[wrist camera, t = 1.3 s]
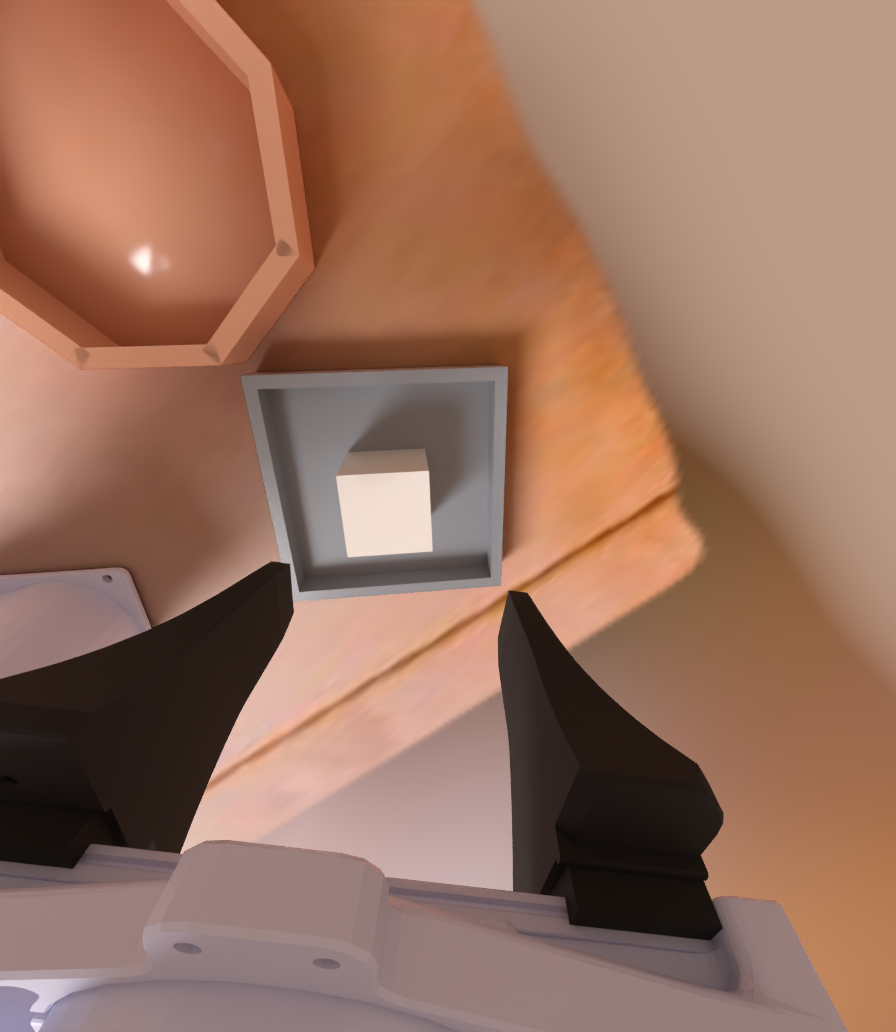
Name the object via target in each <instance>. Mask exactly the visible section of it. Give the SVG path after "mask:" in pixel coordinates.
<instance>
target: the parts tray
mask: <svg viewBox="0 0 896 1032" xmlns="http://www.w3.org/2000/svg"><path fill="white" fill-rule="evenodd" d="M240 378H241V382H242V387H243V391H244V396H245V400H246V405H247V409H248V414H249V418H250V423H251V428H252V432H253V437H254V441H255V446H256V450H257V455H258V459H259V464H260V468H261V473H262V477H263V482H264V486H265V491H266V496H267V500H268V505H269V509H270V514H271V518H272V523H273V527H274V532H275V536H276V541H277V545H278V550H279V554H280V559H281V563H288V564H290V569H291V582H292V596H293V602H297V601H310V600H323V599H336V598H349V597H361V596H374V595H387V594H400V593H413V592H426V591H439V590H452V589H465V588H478V587H490V586H501V573H502V542H503V511H504V481H505V450H506V419H507V388H508V367H507V366H503V365H499V364H495V365H465V366H435V367H405V368H375V369H345V370H315V371H285V372H255V373H251V374H246V375H242V376H240ZM422 448H425V452H426V458H427V463H428V468H429V483H430V504H431V526H432V548H433V551H431V552H417V553H403V554H388V555H374V556H360V557H347V550H346V543H345V536H344V529H343V522H342V515H341V508H340V501H339V494H338V487H337V480H336V475H337V473H338V471H339V469H340V467H341V465H342V463H343V461H344V459H345V457H346V455H347V453H348V452H362V451H382V450H402V449H422Z"/></svg>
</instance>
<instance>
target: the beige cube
mask: <svg viewBox="0 0 896 1032" xmlns="http://www.w3.org/2000/svg"><path fill="white" fill-rule="evenodd" d="M336 480H337V487H338V494H339V501H340V508H341V515H342V522H343V529H344V536H345V543H346V550H347V557H360V556H374V555H388V554H403V553H417V552H431V551H433V548H432V526H431V504H430V483H429V468H428V463H427V458H426V452H425V448H422V449H402V450H382V451H362V452H348V453H347V455H346V457H345V459H344V461H343V463H342V465H341V467H340V469H339V471H338V473H337V475H336Z"/></svg>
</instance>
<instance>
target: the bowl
mask: <svg viewBox="0 0 896 1032" xmlns="http://www.w3.org/2000/svg"><path fill="white" fill-rule="evenodd" d="M314 269H315V264H314V257H313V249H312V242H311V235H310V227H309V220H308V213H307V205H306V198H305V191H304V183H303V176H302V168H301V161H300V154H299V146H298V139H297V132H296V124H295V117H294V110H293V108H292V106H291V104H290V101H289V99H288V97H287V95H286V93H285V91H284V89H283V87H282V85H281V83H280V81H279V79H278V77H277V75H276V73H275V70H274V68H273V66H272V64H271V62H270V61H269V60H268V59H267V58H266V57H265V56H264V55H263V53H262V52H261V51H260V50H259V49H258V48H257V47H256V46H255V44H254V43H253V42H252V41H251V40H250V39H249V38H248V36H247V35H246V34H245V33H244V32H243V31H242V30H241V29H240V27H239V26H238V25H237V24H236V23H235V22H234V21H233V19H232V18H231V17H230V16H229V15H228V14H227V13H226V12H225V10H224V9H223V8H222V7H221V6H220V5H219V4H218V3H217V1H216V0H0V313H1V314H3V315H4V316H6V317H7V318H8V319H10V320H11V321H13V322H14V323H15V324H17V325H18V326H20V327H21V328H23V329H24V330H25V331H27V332H28V333H30V334H31V335H32V336H34V337H35V338H37V339H38V340H40V341H41V342H42V343H44V344H45V345H47V346H48V347H50V348H51V349H52V350H54V351H55V352H57V353H58V354H59V355H61V356H62V357H64V358H65V359H67V360H68V361H69V362H71V363H72V364H74V365H75V366H76V367H78V368H79V369H81V370H86V369H118V368H149V367H181V366H213V365H227V364H234V363H241V362H247V360H248V359H249V358H250V356H251V355H252V354H253V352H254V351H255V349H256V348H257V347H258V345H259V344H260V343H261V341H262V340H263V339H264V337H265V336H266V334H267V333H268V332H269V330H270V329H271V328H272V326H273V325H274V324H275V322H276V321H277V319H278V318H279V317H280V315H281V314H282V313H283V311H284V310H285V309H286V307H287V306H288V304H289V303H290V302H291V300H292V299H293V298H294V296H295V295H296V294H297V292H298V291H299V289H300V288H301V287H302V285H303V284H304V283H305V281H306V280H307V279H308V277H309V276H310V275H311V273H312V272H313V270H314Z"/></svg>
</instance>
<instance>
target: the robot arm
mask: <svg viewBox="0 0 896 1032" xmlns="http://www.w3.org/2000/svg"><path fill="white" fill-rule="evenodd" d="M107 575H109V576H111V578H112V579H110V578H108V576H107ZM293 613H294V609H293V596H292V582H291V569H290V564H288V563H280V562H272V561H271V562H270V563H268V564H266V565H264V566H263V567H261V568H260V569H258V570H256V571H255V572H253V573H251V574H250V575H248V576H247V577H245V578H244V579H242V580H240V581H239V582H237V583H235V584H234V585H232V586H231V587H229V588H227V589H226V590H224V591H222V592H221V593H219V594H217V595H216V596H214V597H212V598H210V599H208V600H207V601H205V602H203V603H201V604H199V605H198V606H196V607H194V608H192V609H190V610H189V611H187V612H185V613H183V614H181V615H179V616H177V617H175V618H173V619H171V620H169V621H167V622H164V623H162V624H160V625H158V626H156V627H154V628H151V625H150V623H149V620H148V618H147V615H146V613H145V610H144V608H143V605H142V603H141V600H140V598H139V595H138V593H137V590H136V588H135V585H134V583H133V580H132V578H131V575H130V573H129V572H128V571H127V570H126V569H123V568H119V567H116V568H102V569H87V570H73V571H58V572H43V573H29V574H14V575H0V1032H848V1031H847V1029H846V1027H845V1025H844V1023H843V1021H842V1020H841V1018H840V1016H839V1014H838V1012H837V1010H836V1008H835V1006H834V1004H833V1002H832V1000H831V998H830V997H829V995H828V993H827V991H826V989H825V987H824V985H823V983H822V981H821V980H820V978H819V976H818V974H817V972H816V970H815V968H814V966H813V964H812V962H811V961H810V959H809V957H808V955H807V953H806V951H805V949H804V947H803V945H802V943H801V942H800V940H799V938H798V936H797V934H796V932H795V930H794V928H793V927H792V924H791V923H790V921H789V919H788V917H787V915H786V913H785V911H784V909H783V907H782V906H781V904H779V903H777V902H776V901H771V900H762V899H753V898H745V897H736V896H721V897H716V898H714V899H712V900H711V898H710V896H709V893H708V891H707V888H706V886H705V883H704V881H703V880H705V881H706V880H707V879H708V871H707V869H706V867H705V864H704V862H703V860H702V857H701V854H702V853H703V852H704V850H705V849H706V848H707V847H708V845H709V844H710V843H711V842H712V840H713V839H714V838H715V836H716V835H717V834H718V832H719V830H720V828H721V826H722V824H723V811H722V809H721V808H720V805H719V804H718V801H717V799H716V797H715V795H714V793H713V791H712V789H711V787H710V785H709V783H708V781H707V779H706V778H705V776H704V774H703V772H702V771H701V769H700V768H699V766H698V764H697V763H695V762H694V761H692V760H691V759H689V758H688V757H686V756H685V755H684V754H682V753H681V752H679V751H678V750H676V749H675V748H673V747H672V746H670V745H669V744H668V743H666V742H665V741H663V740H662V739H661V738H659V737H658V736H657V735H655V734H654V733H653V732H651V731H650V730H649V729H648V728H646V727H645V726H644V725H642V724H641V723H640V722H639V721H637V720H636V719H635V718H634V717H633V716H631V715H630V714H629V713H628V712H627V711H625V710H624V709H623V708H622V707H621V706H620V705H619V704H618V703H617V702H615V701H614V700H613V699H612V698H611V697H610V696H609V695H608V694H607V693H606V692H604V690H602V689H601V688H600V687H599V686H598V685H597V684H596V682H595V681H594V680H593V679H592V678H591V677H590V676H589V675H588V674H587V673H586V672H585V671H584V670H583V669H582V668H581V666H580V665H579V664H578V663H577V662H576V661H575V660H574V658H573V657H572V656H571V655H570V653H569V652H568V651H567V650H566V648H565V647H564V646H563V644H562V643H561V642H560V640H559V639H558V638H557V636H556V635H555V633H554V632H553V631H552V629H551V628H550V626H549V625H548V624H547V622H546V621H545V619H544V618H543V616H542V615H541V613H540V612H539V610H538V608H537V607H536V605H535V604H534V602H533V601H532V599H531V597H530V596H529V595H528V593H525V592H517V591H509V592H508V596H507V600H506V605H505V609H504V613H503V618H502V622H501V626H500V631H499V635H498V665H499V673H500V681H501V688H502V694H503V702H504V708H505V715H506V722H507V729H508V738H509V750H510V771H511V796H512V797H511V799H512V835H513V836H512V837H513V891H505V890H496V889H487V888H478V887H469V886H460V885H452V884H443V883H434V882H425V881H416V880H407V879H398V878H390V877H385V876H384V874H383V872H382V871H381V869H380V868H378V867H376V866H375V865H373V864H372V863H370V862H369V861H367V860H365V859H363V858H359V857H355V856H351V855H347V854H343V853H336V852H328V851H318V850H310V849H302V848H292V847H284V846H275V845H266V844H258V843H249V842H240V841H231V840H215V841H205V842H202V843H200V844H198V845H196V846H194V847H192V848H190V849H188V850H186V851H184V853H183V854H180V852H181V849H182V847H183V844H184V841H185V839H186V836H187V834H188V831H189V828H190V826H191V823H192V821H193V818H194V816H195V813H196V811H197V808H198V806H199V804H200V801H201V799H202V796H203V794H204V791H205V789H206V787H207V784H208V782H209V779H210V777H211V775H212V773H213V770H214V768H215V766H216V763H217V761H218V759H219V757H220V754H221V752H222V750H223V748H224V745H225V743H226V741H227V739H228V737H229V735H230V732H231V730H232V728H233V726H234V724H235V722H236V720H237V717H238V715H239V713H240V712H241V710H242V708H243V706H244V704H245V702H246V700H247V699H248V697H249V695H250V694H251V692H252V690H253V689H254V687H255V685H256V684H257V682H258V680H259V679H260V677H261V675H262V674H263V672H264V670H265V669H266V667H267V665H268V663H269V662H270V660H271V658H272V657H273V655H274V653H275V652H276V650H277V648H278V646H279V645H280V643H281V641H282V639H283V637H284V635H285V632H286V630H287V628H288V625H289V623H290V621H291V618H292V616H293Z"/></svg>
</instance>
